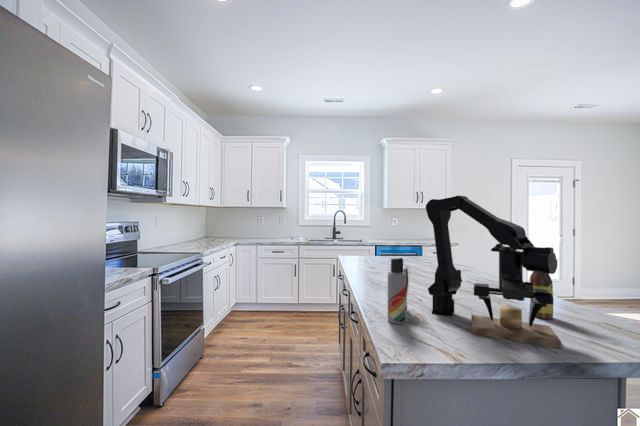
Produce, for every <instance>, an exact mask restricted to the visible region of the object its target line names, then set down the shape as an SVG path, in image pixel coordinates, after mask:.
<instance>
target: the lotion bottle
mask: <svg viewBox="0 0 640 426" xmlns="http://www.w3.org/2000/svg"><path fill="white" fill-rule="evenodd" d="M390 267H391V272H390V271H389V272H388V273H387V322H389V323H391V324H394V325H395V324H396V325H403V324H406V322H407V311H406V273H403V267H404V259H403V257H396V258H391V259H390Z"/></svg>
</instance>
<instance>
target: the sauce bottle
mask: <svg viewBox="0 0 640 426" xmlns="http://www.w3.org/2000/svg"><path fill="white" fill-rule="evenodd" d="M550 275H551V274H549V273H541V272H534V271H532V273H531V275H530V276H529V282H532V283H533V289H542V290H547V291H549V292H550V293H551V294H552V295H553V296H554V292H553V289H554V287H553V285H554V284H553V280H552V278H551V276H550ZM529 299H530V300H531V299H532V298H529ZM530 300H529V301H530ZM553 317H554V303H553V304H547V307H542V308H541V309H540V310H539V311H538V313H537V315H536V317H535V318H538V319H546V320H550V319H553Z"/></svg>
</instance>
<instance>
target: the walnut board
mask: <svg viewBox="0 0 640 426" xmlns="http://www.w3.org/2000/svg"><path fill="white" fill-rule="evenodd" d="M470 317H471V324H470V325H471V326H470V327H471V330H470V331H471V332H470V333H471V334H473V335H478V336H482V337H488V338H489V337H490V338H494V339H495V338H496V339H502V340H508V341H513V342H520V343H527V344H532V345H538V346H544V347H549V348H550V347H551V348H554V349H555V348H556V349H561V347H562V346H561V343H562V342H561V341H562V340H561V339H560V337H559V336H558V335H557V334H556V332H555V331H554V330H553V328H552V327H551V326H550V325H546V324H540V323H534V322H533V324H532V326H529V322H527V321H522V329H519V330H516V329H509V328H505V327H502V326H501V325H500V318H499V317H498V318H497V317H493V321H491V318H490V316H482V315H475V314H471V316H470Z"/></svg>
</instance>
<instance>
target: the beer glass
mask: <svg viewBox="0 0 640 426" xmlns="http://www.w3.org/2000/svg"><path fill="white" fill-rule="evenodd" d="M389 268H390V270H389V272H391V266H390V267H389ZM403 273H406V312H408V311H409V307H408V295H409V290H410V279H411V278H410V267H408V266H403Z"/></svg>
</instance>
